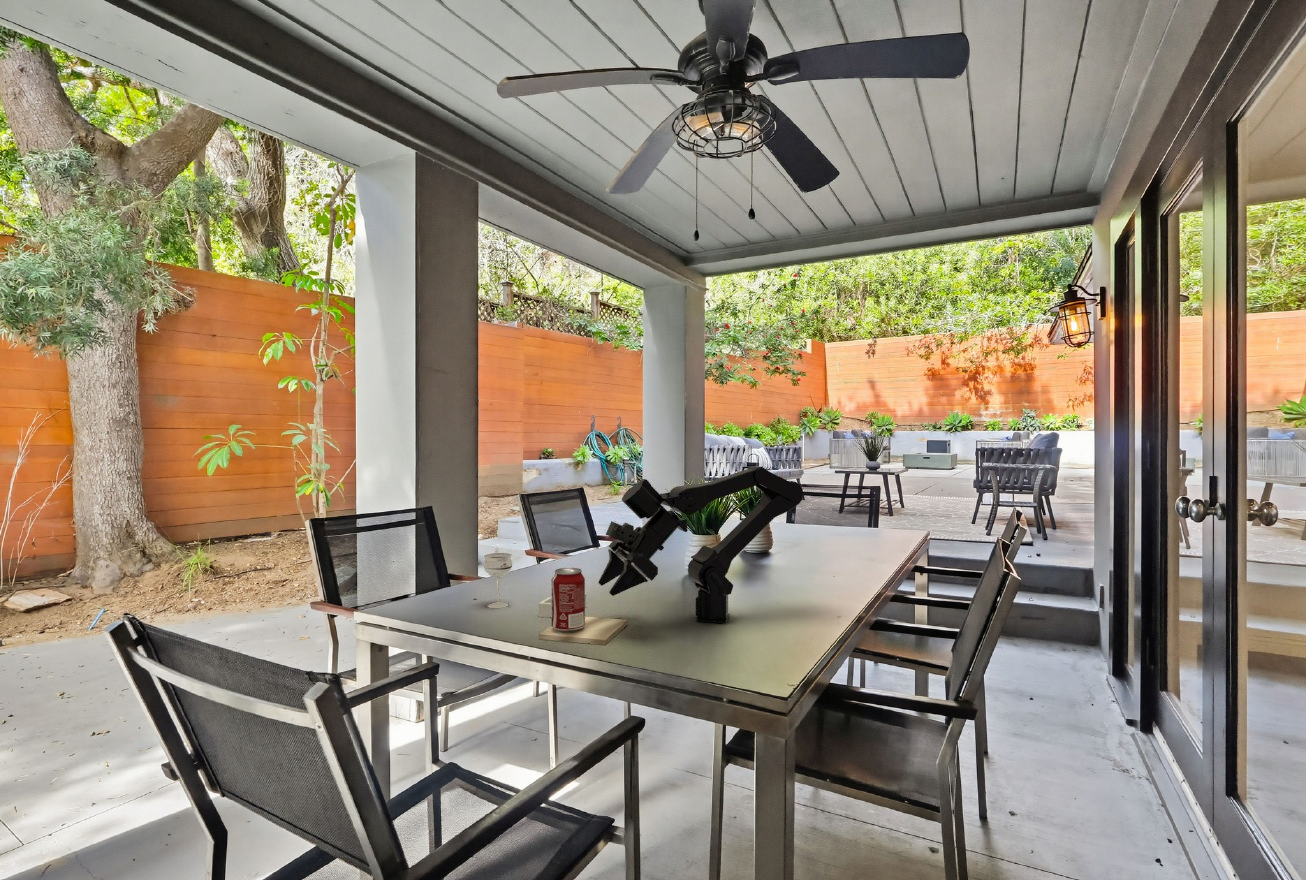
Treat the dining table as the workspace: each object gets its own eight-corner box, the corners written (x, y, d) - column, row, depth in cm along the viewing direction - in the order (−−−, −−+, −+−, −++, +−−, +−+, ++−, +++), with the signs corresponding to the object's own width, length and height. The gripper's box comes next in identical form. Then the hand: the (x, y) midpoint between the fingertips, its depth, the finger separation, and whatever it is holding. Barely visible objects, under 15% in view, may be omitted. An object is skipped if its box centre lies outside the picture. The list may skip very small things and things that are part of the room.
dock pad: (627, 624, 136) (627, 619, 136) (605, 645, 122) (605, 639, 122) (567, 619, 139) (567, 615, 139) (539, 639, 126) (539, 634, 126)
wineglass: (481, 603, 153) (481, 554, 153) (509, 600, 156) (509, 552, 156) (486, 610, 147) (486, 559, 147) (515, 607, 150) (515, 556, 150)
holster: (586, 606, 150) (586, 594, 150) (568, 618, 140) (568, 605, 140) (557, 604, 152) (557, 592, 152) (538, 616, 142) (538, 603, 142)
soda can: (589, 630, 128) (589, 571, 128) (557, 635, 125) (557, 575, 125) (577, 622, 134) (577, 565, 134) (547, 626, 131) (547, 568, 131)
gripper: (617, 503, 142) (569, 555, 139) (642, 512, 124) (587, 573, 121) (650, 536, 145) (604, 588, 141) (680, 550, 127) (627, 610, 124)
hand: (605, 589), depth 132 cm, fingers open, 9 cm apart
